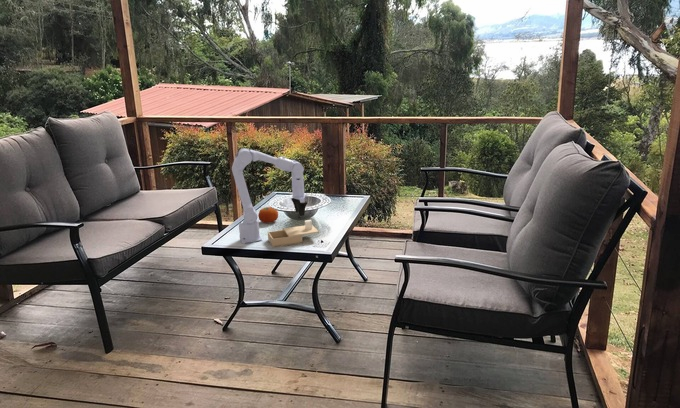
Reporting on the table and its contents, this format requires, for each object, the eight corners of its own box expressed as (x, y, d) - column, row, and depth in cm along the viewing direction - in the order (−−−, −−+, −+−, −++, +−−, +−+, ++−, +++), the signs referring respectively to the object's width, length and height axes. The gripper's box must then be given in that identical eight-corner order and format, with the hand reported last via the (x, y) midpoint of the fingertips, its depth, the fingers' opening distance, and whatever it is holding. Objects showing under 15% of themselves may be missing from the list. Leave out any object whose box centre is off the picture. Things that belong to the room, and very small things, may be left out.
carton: (273, 247, 235) (272, 239, 234) (268, 239, 246) (267, 232, 245) (302, 243, 239) (301, 235, 238) (296, 235, 250) (295, 228, 249)
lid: (288, 236, 236) (288, 227, 235) (283, 229, 247) (282, 220, 246) (318, 232, 240) (318, 223, 239) (311, 225, 251) (311, 216, 250)
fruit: (270, 218, 282) (269, 204, 280) (282, 221, 275) (281, 207, 273) (255, 222, 275) (253, 208, 273) (266, 226, 268) (265, 211, 266)
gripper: (309, 188, 241) (311, 216, 244) (302, 182, 254) (304, 209, 258) (295, 190, 239) (297, 218, 242) (288, 184, 252) (290, 210, 256)
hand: (299, 213), depth 250 cm, fingers open, 7 cm apart
